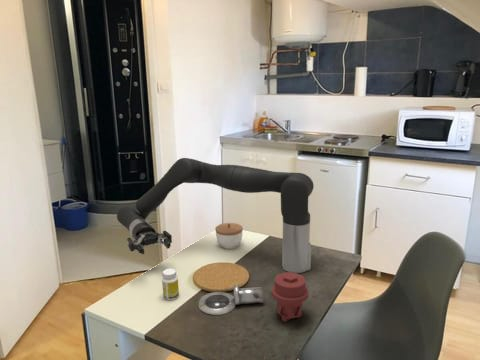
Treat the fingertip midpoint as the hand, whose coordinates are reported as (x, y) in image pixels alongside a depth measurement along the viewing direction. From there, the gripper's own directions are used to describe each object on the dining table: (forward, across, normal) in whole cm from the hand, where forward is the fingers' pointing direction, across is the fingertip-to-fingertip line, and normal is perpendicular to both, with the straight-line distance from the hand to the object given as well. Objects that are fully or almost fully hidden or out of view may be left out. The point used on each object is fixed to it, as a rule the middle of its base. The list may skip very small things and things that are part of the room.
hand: (156, 248), depth 126 cm
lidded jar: (-12, +33, +12) cm, 37 cm away
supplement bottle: (+12, 0, +12) cm, 16 cm away
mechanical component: (+39, +25, +11) cm, 47 cm away
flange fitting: (+25, +14, +11) cm, 30 cm away
